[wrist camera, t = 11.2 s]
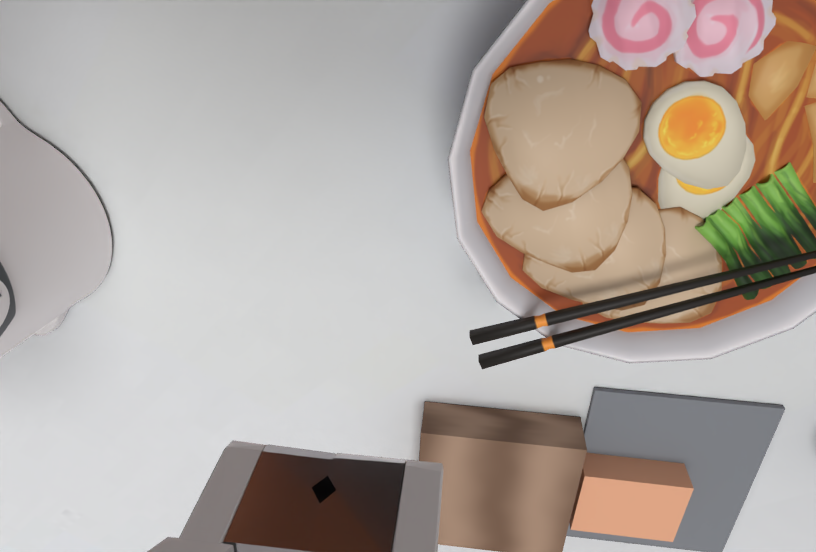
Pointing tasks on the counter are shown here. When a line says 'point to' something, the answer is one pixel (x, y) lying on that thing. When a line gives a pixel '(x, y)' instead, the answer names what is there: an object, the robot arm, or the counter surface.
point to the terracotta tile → (631, 497)
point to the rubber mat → (686, 453)
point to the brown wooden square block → (504, 475)
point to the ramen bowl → (642, 176)
